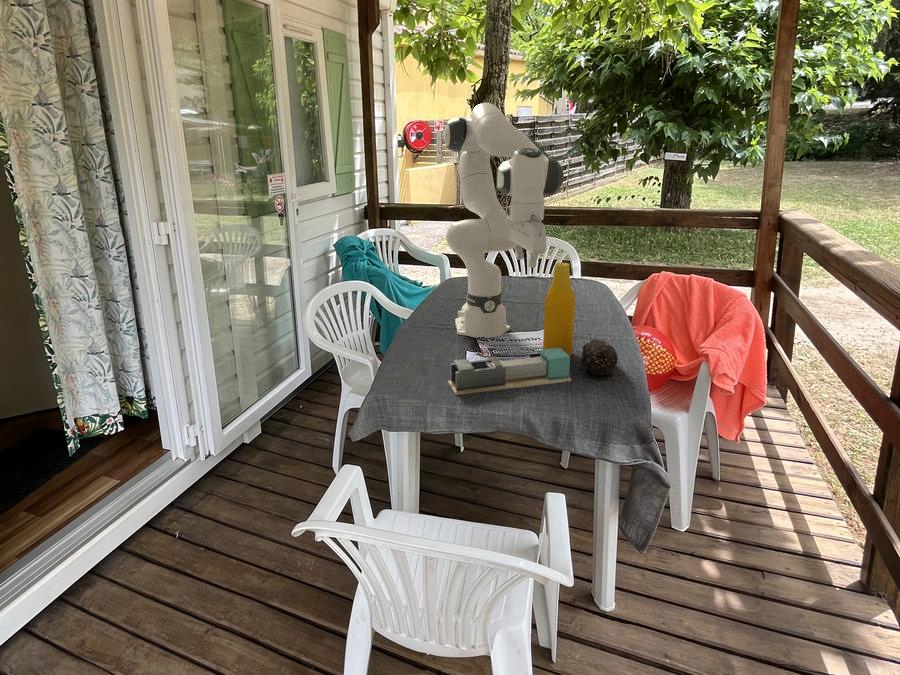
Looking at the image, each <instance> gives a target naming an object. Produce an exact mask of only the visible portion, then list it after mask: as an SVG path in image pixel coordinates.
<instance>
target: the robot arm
mask: <svg viewBox="0 0 900 675" xmlns="http://www.w3.org/2000/svg"><path fill="white" fill-rule="evenodd" d="M443 139H444V144H445V146H446V148H447V150H449V151H450V152H451V151H452V152H456V153H460V152H462V153H461V155H460V157H459V165H458V166H459V167H458V172H459V182H460V190H461V196H462V202H463V204H464V206H465V209H467V210H469V211H470V212H472V213H475V215H478V216H479V217H480V218H477V219H476V218H475V219H474V218H473V219H472V218H471V219H470V218H469V219H464V220H458V221H455V222H452V223H451V224H450V225H449V226H448V228H447V231H446V235H445V237H446V239H445V240H446V243H447V246H448V247H449V249H450V250H451V251H452V252H453V253H455V254H456V256H458V257H459V258H460V259H461V261H463V263H464V265H465V267H466V272H467V285H468V286H467V290H468V291H467V293H466V300H465V301H466V302H465V303H464V304H463V305H462V307H461V310H458V311H457V317H456V318H455V320H454V322H455V327H456V332H457V335H459V336H468V337H471V338H476V339H477V338H478V337H480V338H478V339H482V338H481V337H485V338H484V339H492V338H491V337H494V338H497V336H498V337H500V336H503V335H504V334H505V333H507V332H508V331H510V330H511V326H510V325H508V324H507V310H506V309H507V308H506V306H505V305H503V292H502V271H501V269H500V267H499V266H498V265H496V264H495V263H493V262H491V261H489V260H486V257H485V254H487V253H495V252H507V251H510V250H513V249H514V251H515V259H516V260H518V261H519V260H524V251H523V249H524V250H526V251H528V252H529V253H528V255H529V257H528V258H529V259H528V260H527V266H528V267H529V268H530V269H532V268H533V269H535V268H536V267H537V261H538V258H539V254H545V253H546V250H547V230H546V226H545V224H544V223H543V222H542V221H543V220H544V218H545V197H544V196H554V194H555V193H557V192H558V191H559V190H560V188H561V187H562V186H563V184H564V180H565V179H564V178H565V175H564V174H565V173H564V168H563V167H562V165H561V164H560V162H559V161H558V159H556V158H555V157H552V156H550V155H549V154H548V153H547V152H546V151H545V150H544V149H543V148H542V147H541V146H540V145H539V143H538V142H536V140H534V138H532V137H531V136H530V135H529V134H528V133H526V132H524V131H521V129H519V128H517V127H516V126H515V125H513V124H512V123H511V122H510V121H509V120H508V118H507V117H506V115H504V113H503V112H502V111H501V109H499V108H498V107H497V106H496V105H494V104H493V103H491V102H481V103H480V104H477V105H475V107H474V108H473V109H472V111H471V113H470V116H467V117H465V116H464V117H462V116H460V117H459V116H457V117H454V118H451V119H448V121H447V122H446V123H445V126H444V130H443ZM491 156H492V157H495V158H497V157H503V158H510V159H508V160H504V161H502V163H500V165H498V167H497V168H496V173H495V174H496V178H495V180H496V181H495V182H496V187H495V183H494V177H493V176H494V175H493V170H492V167H491ZM496 188H497V189H498V190H499V192H500V193H502V194H503V195H506V196H511V200H510V205H508V206H506V207H505V209H504V208H503V207H502V204H500V201H499V199H498V196H497V192H496ZM486 337H488V338H486ZM489 337H490V338H489Z"/></svg>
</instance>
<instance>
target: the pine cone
mask: <svg viewBox="0 0 900 675" xmlns="http://www.w3.org/2000/svg"><path fill="white" fill-rule="evenodd" d="M618 361H619V359H618V353H617V351H616V349H615V348H614V347H613V346H612V344H610V342H609V341H606V340H604V339H597V338H595V339H591V340H590V341H589V342H587V343H586V344H584V346H582V352H581V363H582V364H583V366H584V375H585V376H586V377H589V378H592V379H596V380H597V379H598V380H610V379H611V378H612V376H613V372H612V371H613V370H614V369H615V368H616V365H617V364H618Z"/></svg>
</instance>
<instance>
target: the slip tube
mask: <svg viewBox="0 0 900 675" xmlns="http://www.w3.org/2000/svg"><path fill="white" fill-rule="evenodd" d="M499 362H500V363H501V364H502V366H505V367H506V378H505V380H506V379H515V378H523V377H532V376H541V375H548V364H549V361H548V360H547V359H546V358H545V357H544V356H543V357H540V356H535V357H525V358H517V359H516V358H515V359H509V360H506V359H505V360H499ZM492 367H494V366H493V365H492V364H491V363H490V362H488V363H486V368H492Z"/></svg>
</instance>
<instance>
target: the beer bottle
mask: <svg viewBox="0 0 900 675" xmlns="http://www.w3.org/2000/svg"><path fill="white" fill-rule="evenodd" d="M554 264H555V265H554V270H553V277H552V280H551V281H552V282H551V284H550V286H549V288H548V290H547V292H546V293H545V294H546V296H545V299H544V319H543V322H544V323H543V342H542V350H544V349H553V348H561V349H562V350H563V351H564V352H565V353H567V354H568V355H569V356H570V357H571V356H572V354H573V348H574V347H573V346H574V328H575V314H576V296H575V292H574V289H573V287H572V284H571V272H570V263H568V262H555V263H554Z"/></svg>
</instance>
